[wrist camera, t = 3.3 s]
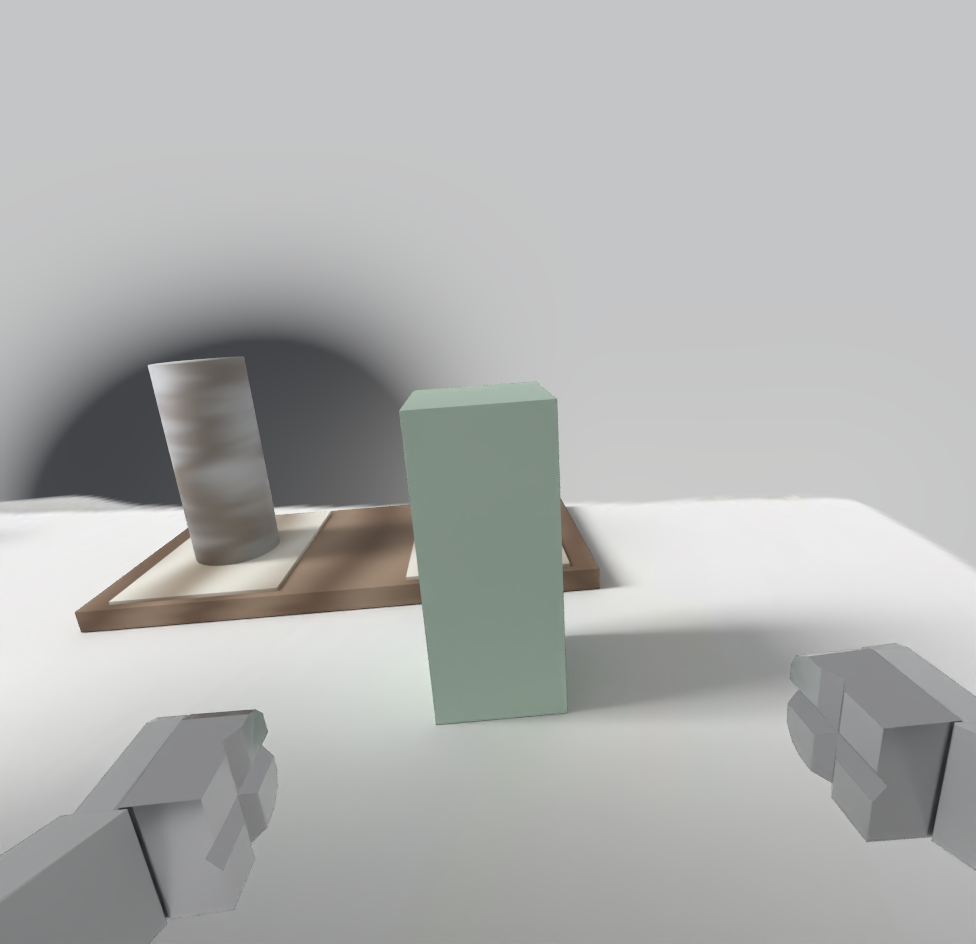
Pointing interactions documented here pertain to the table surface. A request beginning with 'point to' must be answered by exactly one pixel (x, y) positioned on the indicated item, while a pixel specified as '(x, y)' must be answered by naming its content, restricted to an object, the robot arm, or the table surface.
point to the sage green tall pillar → (488, 548)
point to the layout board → (319, 576)
